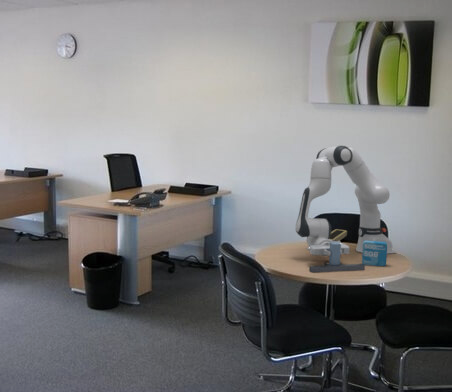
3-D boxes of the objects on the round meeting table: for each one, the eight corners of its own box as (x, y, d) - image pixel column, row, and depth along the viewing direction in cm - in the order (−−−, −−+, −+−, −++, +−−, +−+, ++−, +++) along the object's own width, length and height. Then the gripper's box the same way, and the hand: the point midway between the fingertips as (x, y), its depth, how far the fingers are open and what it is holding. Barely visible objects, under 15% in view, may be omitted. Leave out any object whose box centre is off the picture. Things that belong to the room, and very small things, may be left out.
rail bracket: (357, 265, 271) (357, 261, 271) (364, 270, 264) (364, 265, 263) (305, 268, 265) (305, 263, 265) (311, 272, 257) (311, 267, 257)
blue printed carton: (361, 264, 274) (363, 241, 273) (361, 262, 278) (363, 240, 277) (386, 266, 271) (387, 243, 269) (385, 264, 275) (387, 241, 274)
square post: (336, 265, 268) (337, 242, 266) (339, 267, 264) (340, 244, 262) (328, 265, 267) (329, 242, 265) (331, 268, 263) (333, 244, 261)
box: (347, 237, 334) (347, 230, 333) (332, 249, 317) (331, 242, 315) (335, 236, 339) (335, 228, 338) (319, 248, 322) (319, 240, 320)
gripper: (305, 241, 274) (316, 247, 260) (342, 240, 278) (354, 246, 265) (305, 253, 275) (315, 260, 261) (341, 252, 279) (354, 258, 266)
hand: (335, 253), depth 263 cm, fingers closed on square post, 4 cm apart
